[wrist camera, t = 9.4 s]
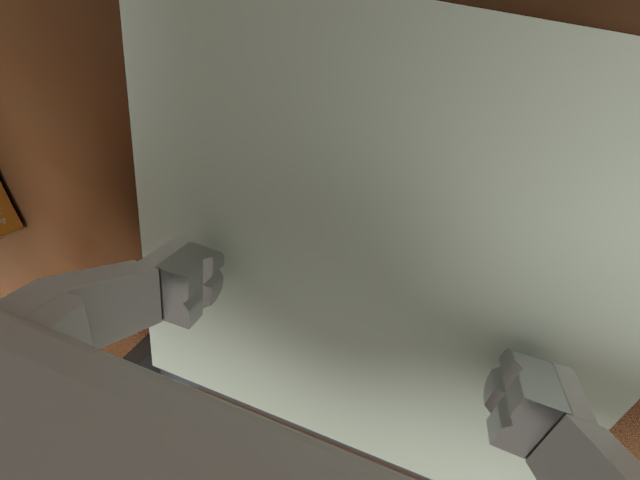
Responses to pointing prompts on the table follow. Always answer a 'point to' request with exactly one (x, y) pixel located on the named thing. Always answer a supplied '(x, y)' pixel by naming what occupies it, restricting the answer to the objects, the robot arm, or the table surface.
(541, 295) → the sage board
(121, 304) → the robot arm
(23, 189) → the table surface
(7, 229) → the small box
